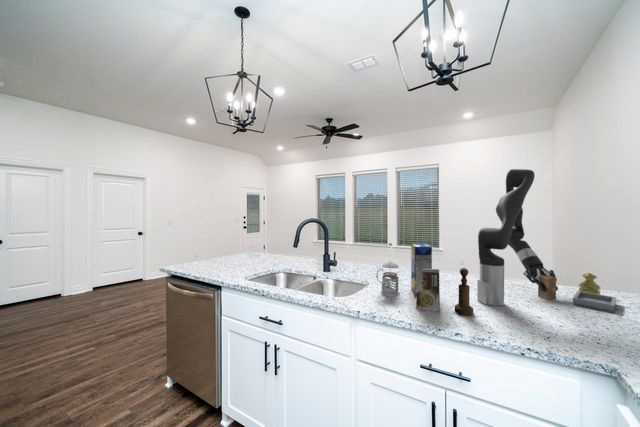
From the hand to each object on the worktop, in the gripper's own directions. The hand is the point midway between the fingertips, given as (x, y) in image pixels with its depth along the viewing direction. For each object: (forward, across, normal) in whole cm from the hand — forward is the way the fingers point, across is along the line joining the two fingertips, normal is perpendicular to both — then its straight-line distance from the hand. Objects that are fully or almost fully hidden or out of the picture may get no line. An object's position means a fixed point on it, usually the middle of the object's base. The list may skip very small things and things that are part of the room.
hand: (550, 290), depth 121 cm
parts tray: (+8, +13, -2) cm, 15 cm away
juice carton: (-5, -56, +11) cm, 57 cm away
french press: (-5, -72, +12) cm, 73 cm away
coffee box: (+9, -61, -3) cm, 62 cm away
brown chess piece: (+13, -49, -7) cm, 51 cm away
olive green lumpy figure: (-2, +26, +8) cm, 27 cm away
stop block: (+2, 0, +4) cm, 5 cm away
